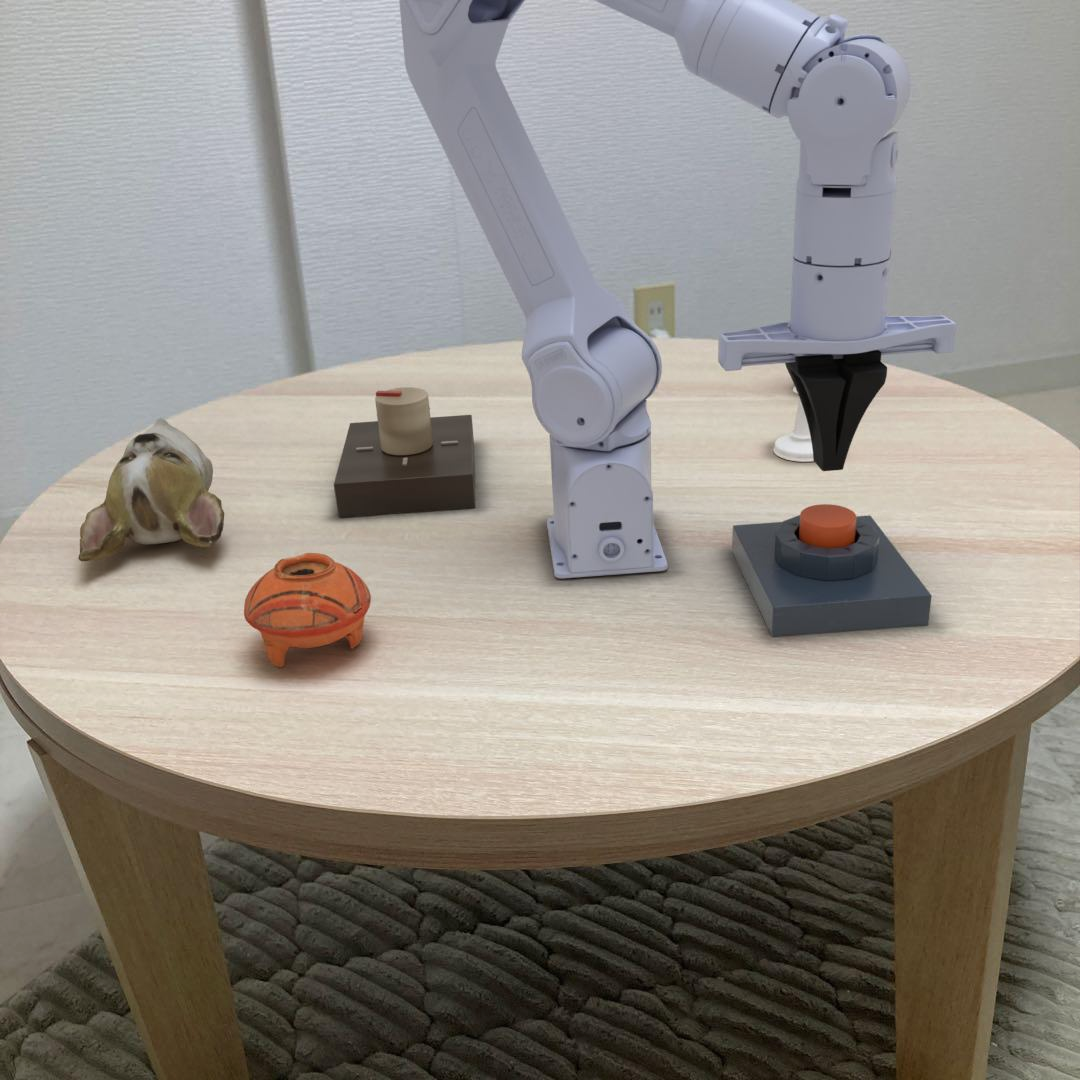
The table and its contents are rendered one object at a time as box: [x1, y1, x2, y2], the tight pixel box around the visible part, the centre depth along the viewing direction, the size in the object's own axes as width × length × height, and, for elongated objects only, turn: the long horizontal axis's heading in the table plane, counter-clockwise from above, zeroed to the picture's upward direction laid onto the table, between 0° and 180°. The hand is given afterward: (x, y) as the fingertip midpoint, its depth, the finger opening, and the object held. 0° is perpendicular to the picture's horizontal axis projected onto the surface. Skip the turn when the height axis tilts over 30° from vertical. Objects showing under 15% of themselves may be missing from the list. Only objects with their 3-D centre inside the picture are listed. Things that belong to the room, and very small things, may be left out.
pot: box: [243, 552, 372, 668], centre depth 72 cm, size 8×8×7 cm
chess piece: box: [773, 385, 814, 463], centre depth 97 cm, size 5×5×10 cm
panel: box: [333, 414, 476, 518], centre depth 97 cm, size 14×11×3 cm
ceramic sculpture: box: [78, 417, 225, 563], centre depth 88 cm, size 11×9×15 cm
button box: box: [731, 514, 932, 638], centre depth 76 cm, size 12×10×4 cm
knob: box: [374, 386, 433, 455], centre depth 95 cm, size 4×4×5 cm
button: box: [799, 503, 857, 548], centre depth 75 cm, size 4×4×2 cm
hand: (828, 465), depth 75 cm, fingers closed
